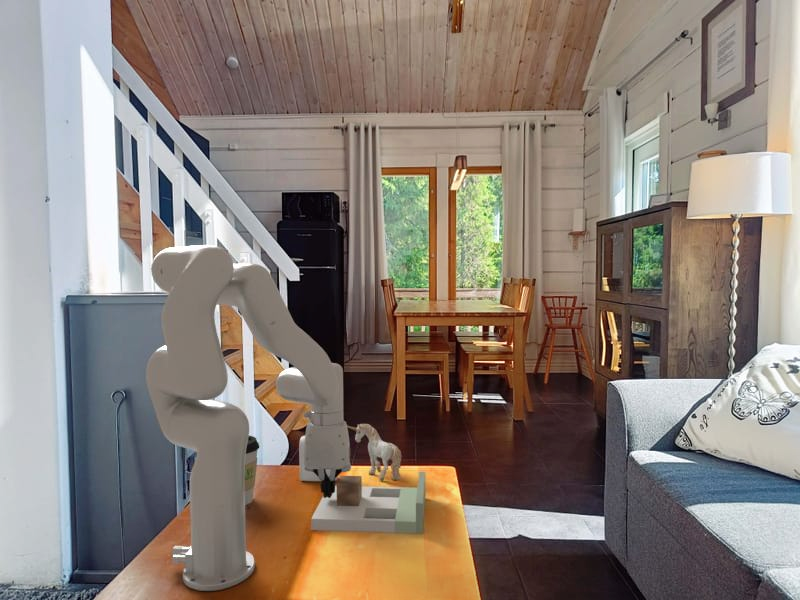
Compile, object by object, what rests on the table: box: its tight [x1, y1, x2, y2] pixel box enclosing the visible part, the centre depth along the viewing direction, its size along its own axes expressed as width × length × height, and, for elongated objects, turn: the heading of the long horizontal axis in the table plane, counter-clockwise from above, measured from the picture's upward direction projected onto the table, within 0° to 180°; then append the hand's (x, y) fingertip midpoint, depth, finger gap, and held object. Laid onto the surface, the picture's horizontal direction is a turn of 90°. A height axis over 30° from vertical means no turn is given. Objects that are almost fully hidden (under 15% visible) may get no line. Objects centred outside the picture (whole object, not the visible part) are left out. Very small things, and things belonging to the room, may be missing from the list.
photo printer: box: [298, 435, 339, 482], centre depth 141 cm, size 10×4×12 cm, turn 85°
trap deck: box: [310, 471, 426, 535], centre depth 121 cm, size 24×18×6 cm
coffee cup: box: [245, 435, 260, 506], centre depth 127 cm, size 10×10×15 cm
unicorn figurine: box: [347, 423, 402, 482], centre depth 144 cm, size 7×20×13 cm, turn 55°
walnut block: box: [336, 475, 363, 506], centre depth 122 cm, size 5×5×5 cm
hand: (328, 495), depth 122 cm, fingers closed
